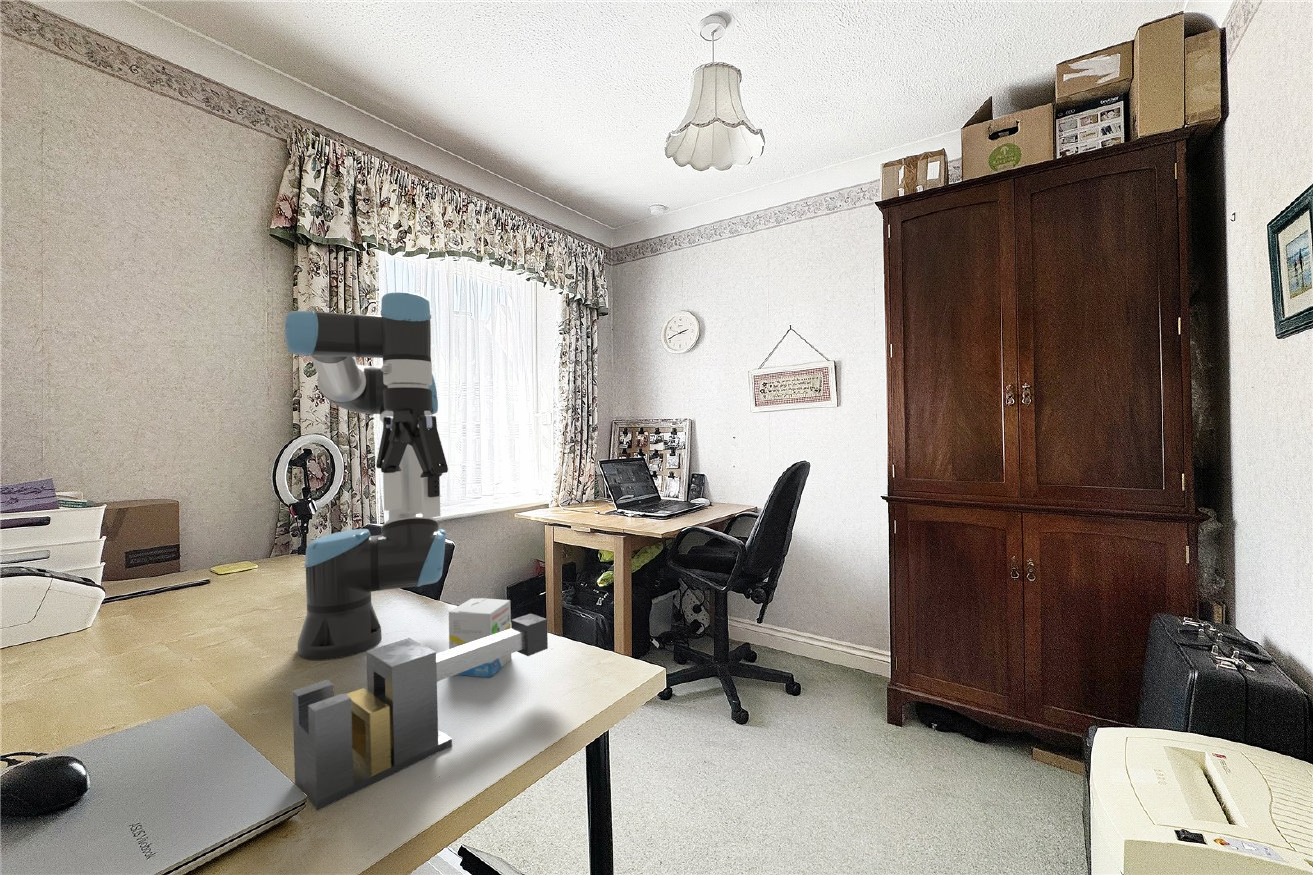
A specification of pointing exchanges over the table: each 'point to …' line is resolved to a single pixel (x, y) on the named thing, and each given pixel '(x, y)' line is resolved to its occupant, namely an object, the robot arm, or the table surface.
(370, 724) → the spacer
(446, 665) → the shaft
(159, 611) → the table surface
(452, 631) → the ink box
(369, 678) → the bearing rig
